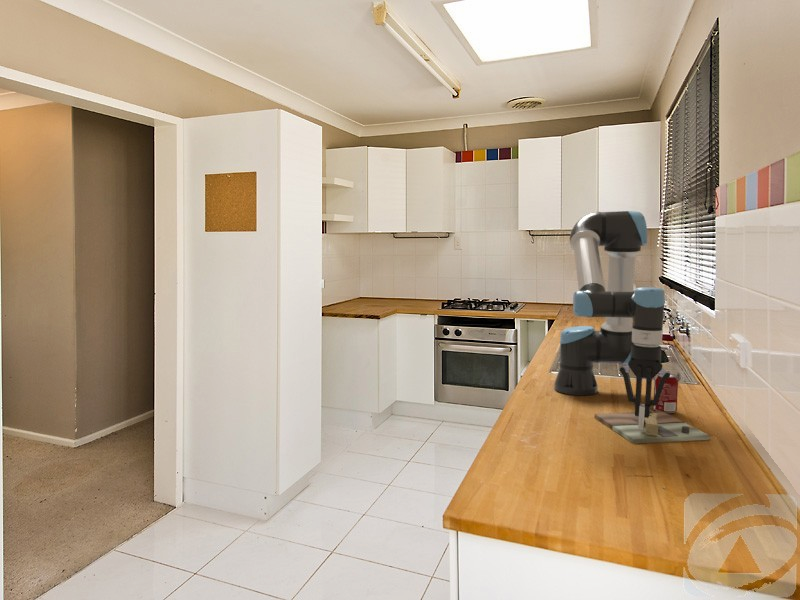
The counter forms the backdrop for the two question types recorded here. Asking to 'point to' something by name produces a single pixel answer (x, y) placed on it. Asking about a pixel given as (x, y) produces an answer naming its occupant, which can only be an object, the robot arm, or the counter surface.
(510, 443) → the counter surface
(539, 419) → the counter surface
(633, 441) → the latch board
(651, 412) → the swing bar
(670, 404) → the soda can
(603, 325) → the robot arm
